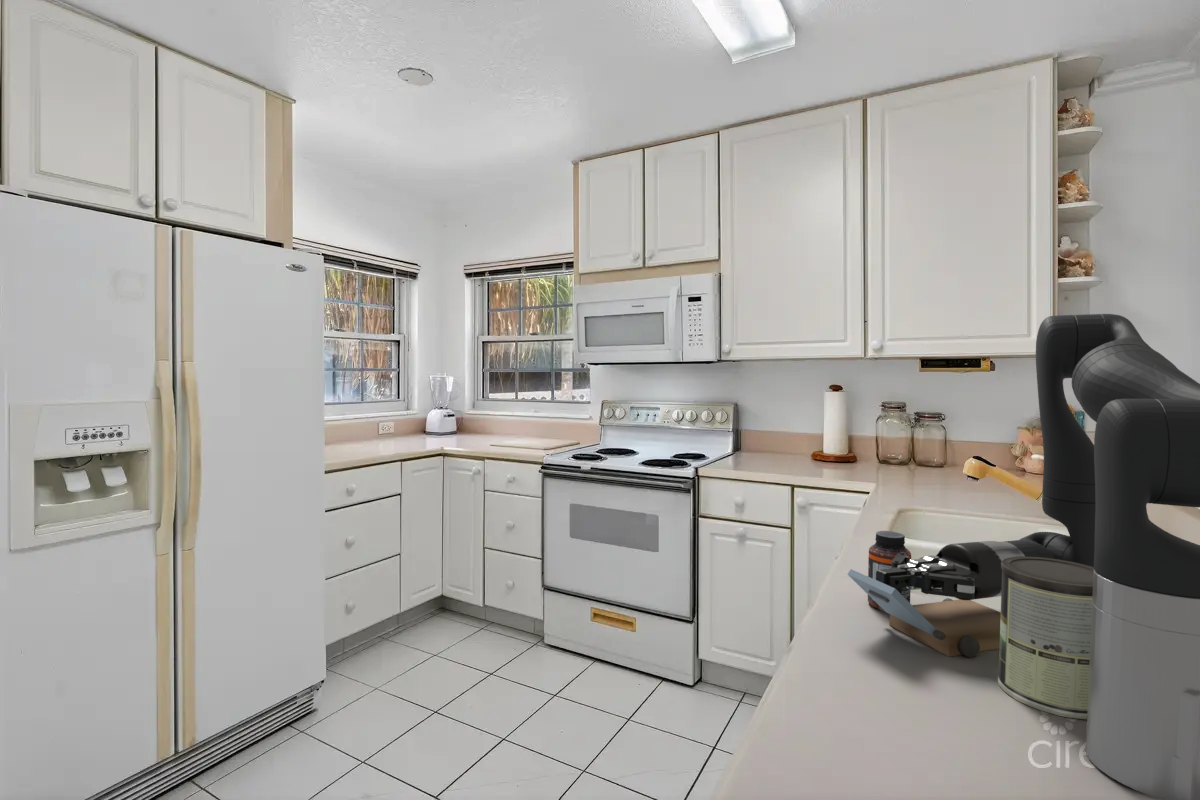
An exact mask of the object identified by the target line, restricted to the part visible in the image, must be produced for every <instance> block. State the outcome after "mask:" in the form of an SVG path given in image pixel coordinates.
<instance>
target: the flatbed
mask: <svg viewBox="0 0 1200 800" xmlns="http://www.w3.org/2000/svg"><path fill="white" fill-rule="evenodd" d="M911 605H912V606H913V607H914V608H915V609H916V610H917V611H918V612H919V613H920V614H921V615H922V616H923V617H924V618H925V619H926V620H927V621H928V622H929V623H930V624H931V625H932V626H933V627H934V628H935V629H936V630H935V631H934V635H931V634H929V633H927V632H925V631H923V630H921V629H919V628H917V627H915V626H913V625H911V624H909V623H907V622H905V621H903V620H901V619H899V618H897V617H895V616H893V615H891V614H889V626H890V627H892V628H894V629H896V630H898V631H899V632H902V633H903V634H905V635H908V636H909V637H911V638H913V639H915V640H917V641H919V642H921V643H922V644H924V645H926V646H928V647H930V648H933V649H934V650H935V651H938V652H940V653H941V654H944V655H945V656H948V657H953V656H960V655H963V656H965V657H967V658H969V659H973V658H975V657H976V656H977V655H979V653H980V652H984V651H985V652H987V651H993V650H999V648H1000V621H1001V611H998V610H996V609H993V608H992V607H989V606H986V605H983V604H981V603H979V602H976V601H973V600H960V599H951V598H948V597H947V598H945V599H943V600H942V601H935V602H928V603H920V604H911ZM879 608H880V610H879V611H882V612H884V613H886V612H885V611H884V610H883V609H882V608H881V607H880V606H879Z"/></svg>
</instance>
